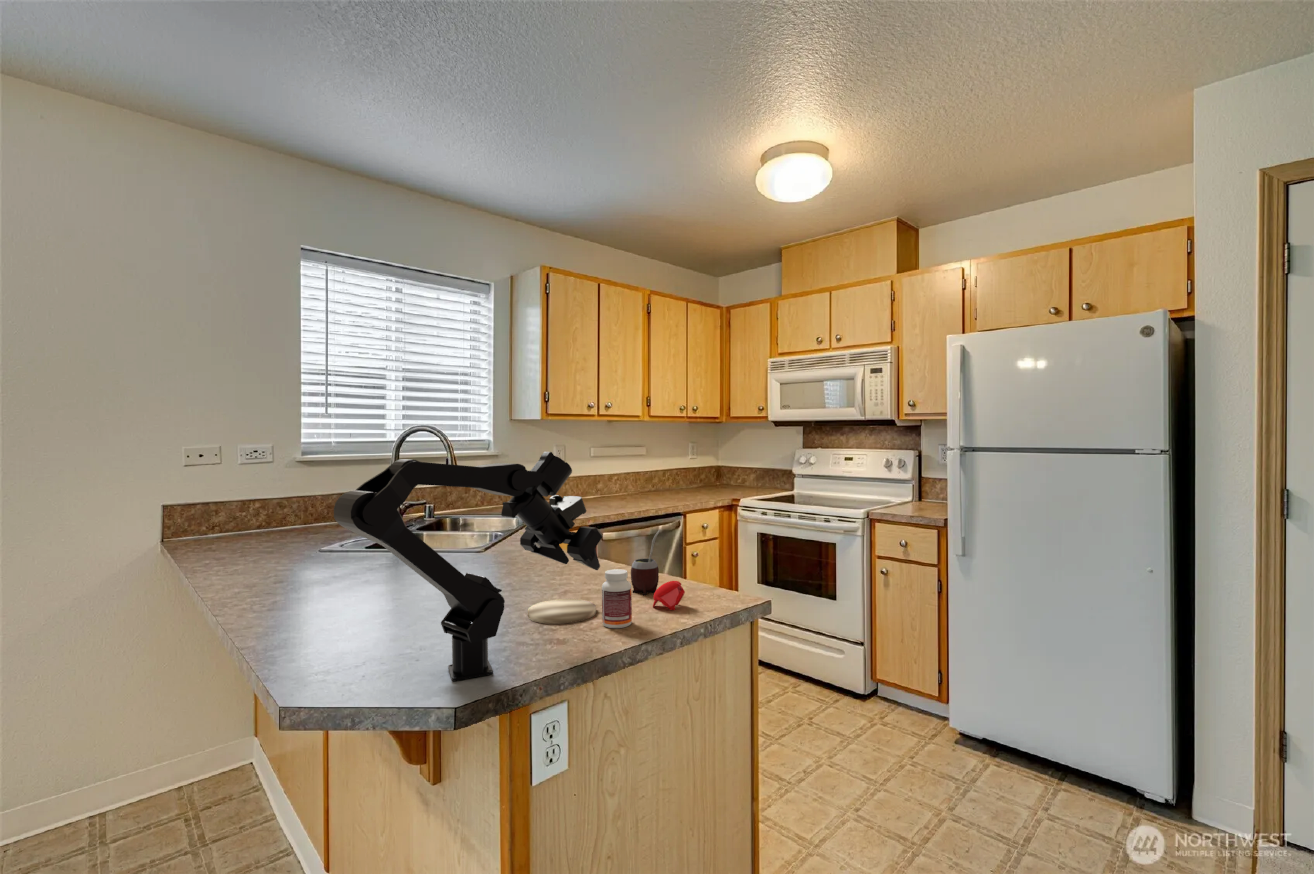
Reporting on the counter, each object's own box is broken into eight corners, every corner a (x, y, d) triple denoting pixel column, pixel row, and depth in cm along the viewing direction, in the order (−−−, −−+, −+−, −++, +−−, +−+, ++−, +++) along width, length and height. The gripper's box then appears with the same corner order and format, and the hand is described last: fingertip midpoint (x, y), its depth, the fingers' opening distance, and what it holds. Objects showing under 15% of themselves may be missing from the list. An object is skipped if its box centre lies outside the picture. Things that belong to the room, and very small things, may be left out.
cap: (689, 589, 138) (668, 575, 139) (688, 587, 132) (666, 572, 134) (670, 619, 136) (649, 604, 138) (668, 618, 130) (646, 602, 132)
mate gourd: (630, 596, 145) (629, 535, 145) (632, 587, 153) (631, 530, 153) (660, 595, 145) (659, 534, 145) (661, 587, 153) (660, 529, 153)
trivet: (605, 617, 128) (605, 612, 128) (537, 628, 121) (536, 622, 121) (584, 600, 141) (583, 595, 141) (521, 609, 135) (521, 604, 135)
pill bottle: (637, 625, 122) (636, 572, 122) (611, 631, 119) (610, 576, 119) (622, 618, 127) (621, 566, 127) (597, 623, 124) (596, 570, 124)
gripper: (594, 484, 108) (636, 538, 116) (532, 481, 121) (573, 529, 129) (561, 532, 102) (607, 585, 110) (499, 523, 114) (544, 571, 123)
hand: (582, 565), depth 118 cm, fingers open, 9 cm apart
